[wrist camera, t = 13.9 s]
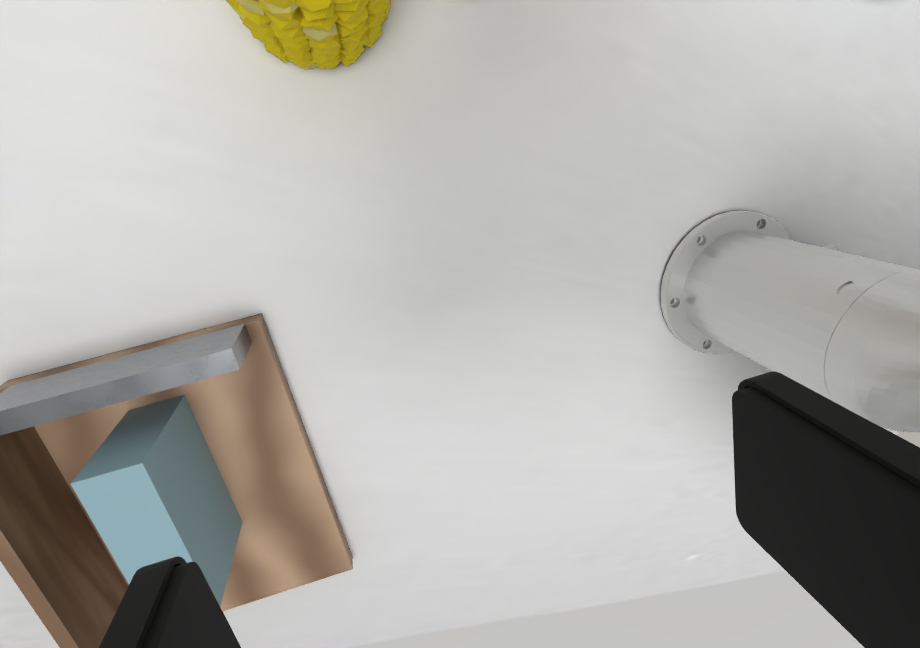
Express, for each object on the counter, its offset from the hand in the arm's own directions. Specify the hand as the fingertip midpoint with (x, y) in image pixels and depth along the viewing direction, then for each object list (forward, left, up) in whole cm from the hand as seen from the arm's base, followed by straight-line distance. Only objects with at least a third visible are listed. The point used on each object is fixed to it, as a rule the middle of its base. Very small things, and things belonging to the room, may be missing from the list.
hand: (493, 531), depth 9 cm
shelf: (+19, +16, -33) cm, 42 cm away
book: (+19, +14, -32) cm, 40 cm away
